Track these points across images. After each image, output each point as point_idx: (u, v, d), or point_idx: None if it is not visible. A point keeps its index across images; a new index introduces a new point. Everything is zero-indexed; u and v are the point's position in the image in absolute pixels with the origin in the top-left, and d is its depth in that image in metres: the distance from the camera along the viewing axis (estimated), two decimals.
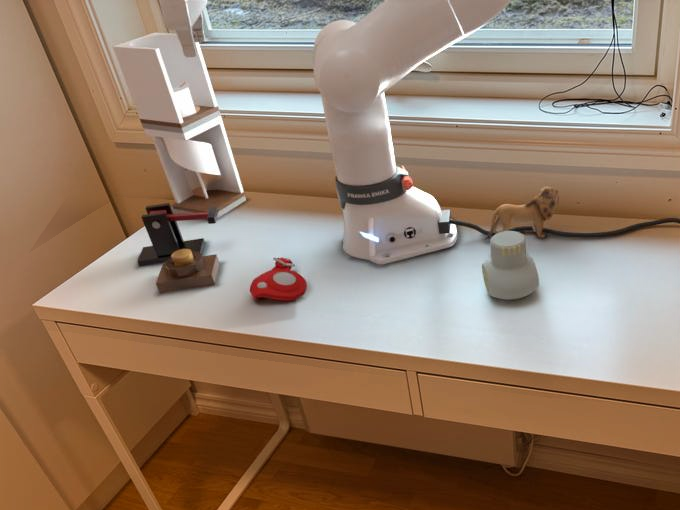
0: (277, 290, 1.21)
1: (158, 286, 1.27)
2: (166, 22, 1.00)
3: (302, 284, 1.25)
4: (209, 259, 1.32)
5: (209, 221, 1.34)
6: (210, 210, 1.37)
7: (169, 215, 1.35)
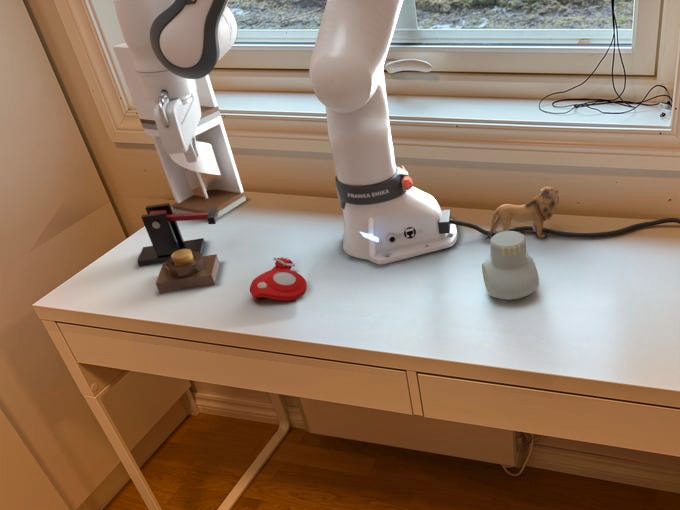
0: (277, 290, 1.21)
1: (158, 286, 1.27)
2: (165, 149, 1.18)
3: (302, 284, 1.25)
4: (209, 259, 1.32)
5: (209, 222, 1.35)
6: (210, 211, 1.37)
7: (169, 215, 1.35)
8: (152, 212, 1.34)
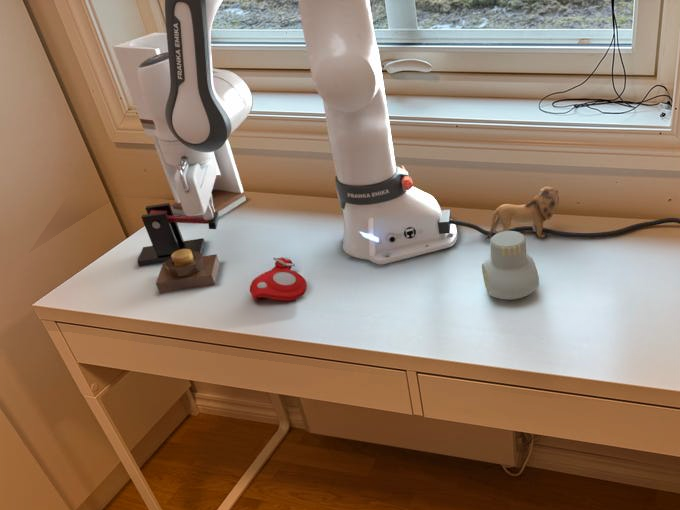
0: (277, 290, 1.21)
1: (158, 286, 1.27)
2: (185, 212, 1.25)
3: (302, 284, 1.25)
4: (209, 259, 1.32)
5: (210, 226, 1.35)
6: None
7: (170, 216, 1.35)
8: (153, 212, 1.34)
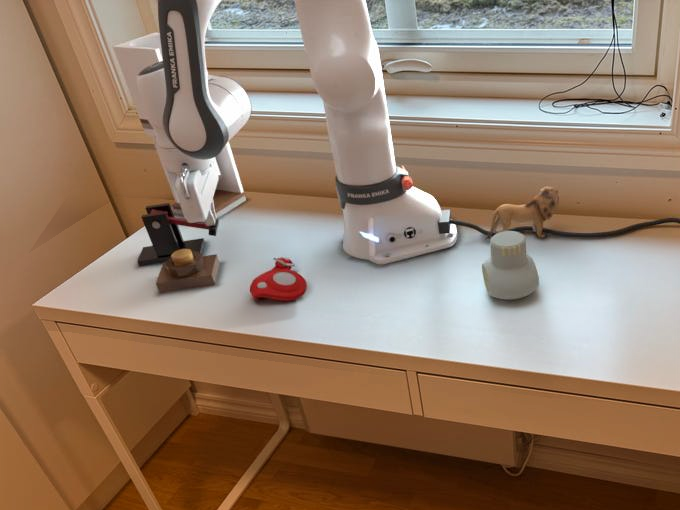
0: (277, 290, 1.21)
1: (158, 286, 1.27)
2: (186, 219, 1.26)
3: (302, 284, 1.25)
4: (209, 259, 1.32)
5: (210, 233, 1.36)
6: None
7: (170, 218, 1.35)
8: (154, 211, 1.34)
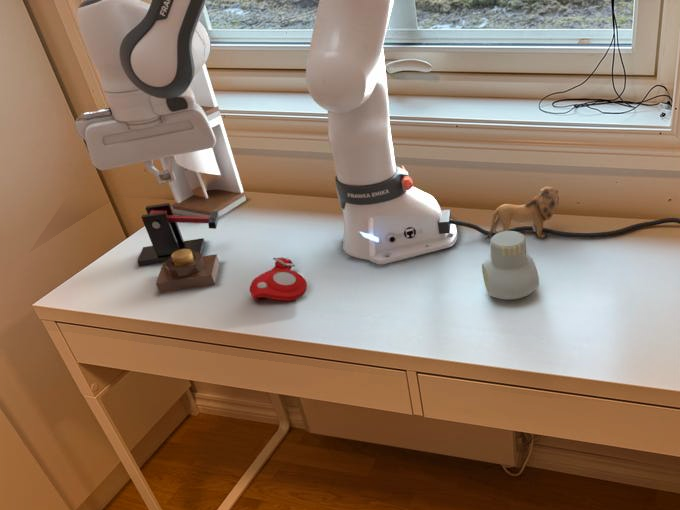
0: (277, 290, 1.21)
1: (158, 286, 1.27)
2: None
3: (302, 284, 1.25)
4: (209, 259, 1.32)
5: (210, 226, 1.35)
6: (211, 215, 1.37)
7: (170, 216, 1.35)
8: (153, 212, 1.34)
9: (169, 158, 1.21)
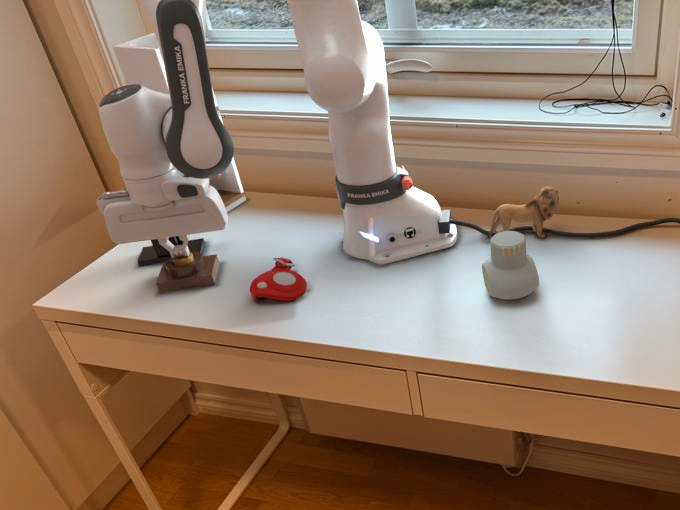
0: (277, 290, 1.21)
1: (158, 286, 1.27)
2: None
3: (302, 284, 1.25)
4: (209, 259, 1.32)
5: None
6: None
7: None
8: None
9: (182, 236, 1.26)
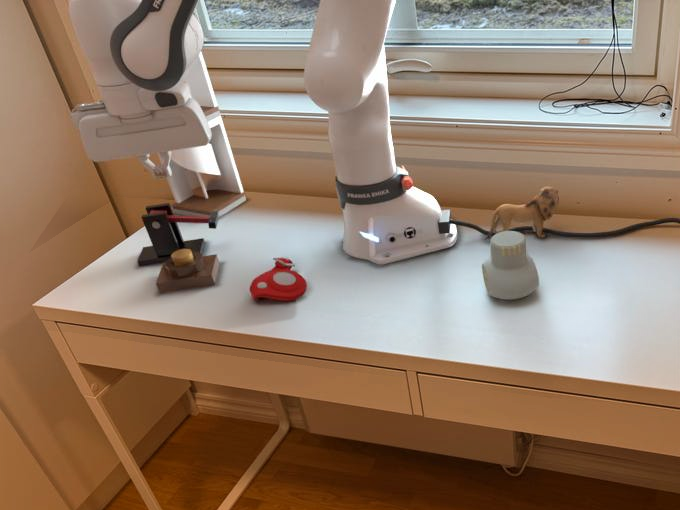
0: (277, 290, 1.21)
1: (158, 286, 1.27)
2: None
3: (302, 284, 1.25)
4: (209, 259, 1.32)
5: (210, 226, 1.35)
6: (211, 215, 1.37)
7: (170, 216, 1.35)
8: (153, 212, 1.34)
9: (163, 153, 1.19)
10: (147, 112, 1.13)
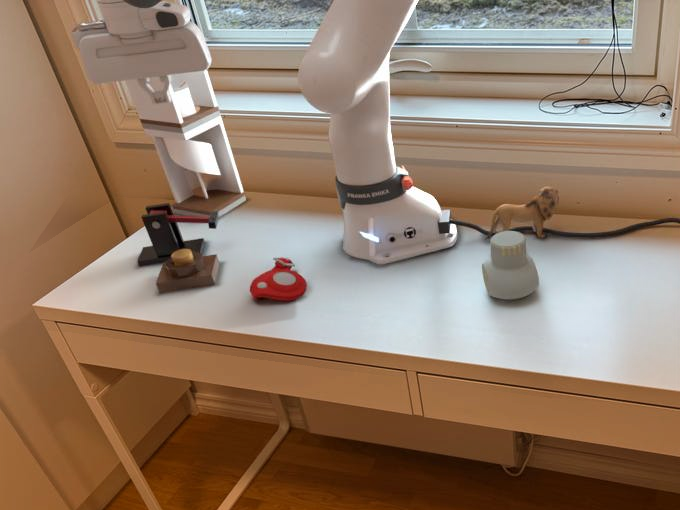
0: (277, 290, 1.21)
1: (158, 286, 1.27)
2: None
3: (302, 284, 1.25)
4: (209, 259, 1.32)
5: (210, 226, 1.35)
6: (211, 215, 1.37)
7: (170, 216, 1.35)
8: (153, 212, 1.34)
9: (163, 78, 1.19)
10: (148, 33, 1.14)
